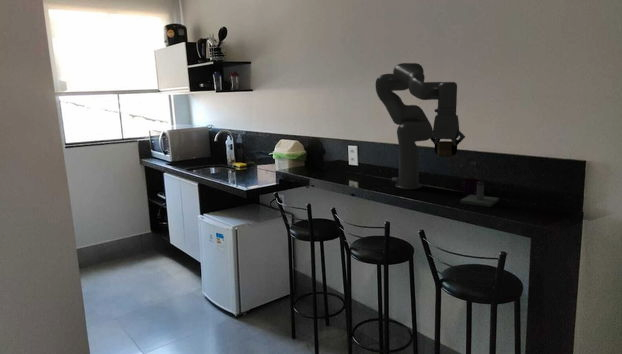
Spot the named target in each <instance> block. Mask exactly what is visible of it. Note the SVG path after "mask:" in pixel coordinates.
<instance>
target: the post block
mask: <svg viewBox="0 0 622 354" xmlns="http://www.w3.org/2000/svg"><path fill="white" fill-rule="evenodd" d="M485 184H486V183H485V182H484V181H480V182H477V195H469V196H465V197H463V198H462V199H460V201H459V204H464V205H473V206H480V207H488V208H491V207H493V205H495V204H497V203H498V202H499V201H500V198H499V197H495V196H487V195H484V194H485Z"/></svg>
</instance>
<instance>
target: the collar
mask: <svg viewBox="0 0 622 354" xmlns="http://www.w3.org/2000/svg"><path fill="white" fill-rule="evenodd" d="M452 146H453V143H452V140H451V141H449V140H440V141H439V142H437V154H436V157H439V158H453V157H455V155H452Z"/></svg>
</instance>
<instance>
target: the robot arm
mask: <svg viewBox="0 0 622 354" xmlns="http://www.w3.org/2000/svg"><path fill="white" fill-rule="evenodd" d="M424 73H425V72H424V68H423V66H422V64H420V63H416V62H404V63H403V62H402V63H398V64H397V65H395V66H394V68H393V71H392V73H383V74H381V75H379V76H378V77H377V78H376V79H375V92H376V94H377V97H378V99H379V100H380V101H381V102H382V104H383V105H384V106H385V108H386V110H387V112H388V114H389V116H390V118H391V120H392V121H393V123H394V124H396V125H397V129H396V137H397V143H398V176H397V177H395V176H393V177H392V178H391V182H396V183H395V188H396V189H401V190H418V189H421V188H422V187H423V185H422V184H421V183H419V182H420V181H419V180H420V179H419V175H420V174H419V173H420V172H419V171H420V150H419V147H418V145H417V144H416V142H425V141H426V142H427V141H428V140H430V141H431V142H432V143H433V145H434V152H435V153H434V154H435V155H437V142H439V141H441V140H451V141H452V143H453V146H452V155H454V156H455V155H457V153H458V145H459V144H460V143H461V142H462V141H463V140H464V139H465V138H466V136H465V134H463V132H461V130H460V121H459V115H457V106H458V105H457V102H458V98H457V97H458V83H456V82H455V81H427V82H426V81H425V74H424ZM407 90H408V91H409V94H411V95H412V96H413V97H415V98H417V99H419V100H422V101H428V100H429V101H430V100H431V101H433V100H435V101H436V100H437V108H435V109H434V113H436V115H435V117H434V122H433V126H432V124H431V122H430V120H429V119H428V116H427V115H426V114H425V112H424V110H423V109H422V108H421V106H418V105H415V104H409V105H408V104H405V103H404V102H403V100H402V98H401V97H400V96H399V95H398V94H397V93H395V91H399V92H401V91H407Z"/></svg>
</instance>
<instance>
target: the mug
mask: <svg viewBox="0 0 622 354" xmlns="http://www.w3.org/2000/svg"><path fill="white" fill-rule="evenodd" d="M461 182H463V188H462V187H461ZM477 182H481V180H480V179H478V178H465V179H464V178H463V179H459V180H458V188H459V189H460V190H461V191H462V192H463V196H465V197H467V196H469V195H477Z"/></svg>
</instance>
